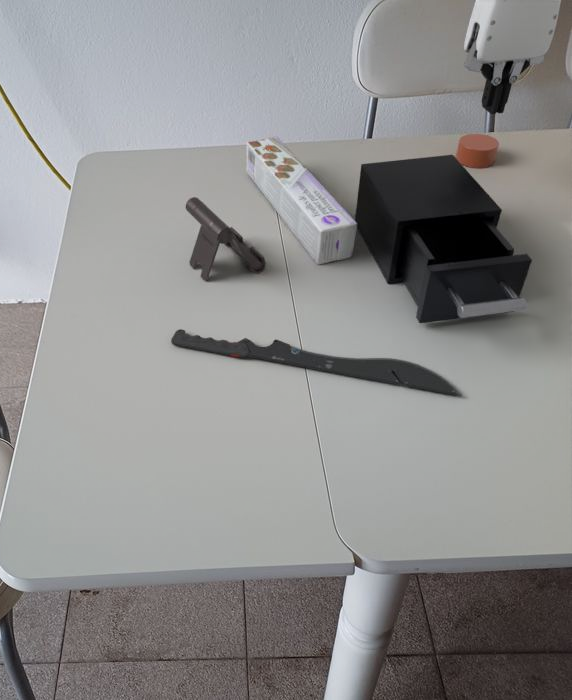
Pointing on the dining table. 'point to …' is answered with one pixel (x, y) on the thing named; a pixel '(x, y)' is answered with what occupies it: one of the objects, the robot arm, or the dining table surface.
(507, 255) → the drawer
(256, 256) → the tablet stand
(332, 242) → the box
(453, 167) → the cabinet
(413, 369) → the knife
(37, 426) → the dining table surface
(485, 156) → the orange cylinder puck
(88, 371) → the dining table surface
